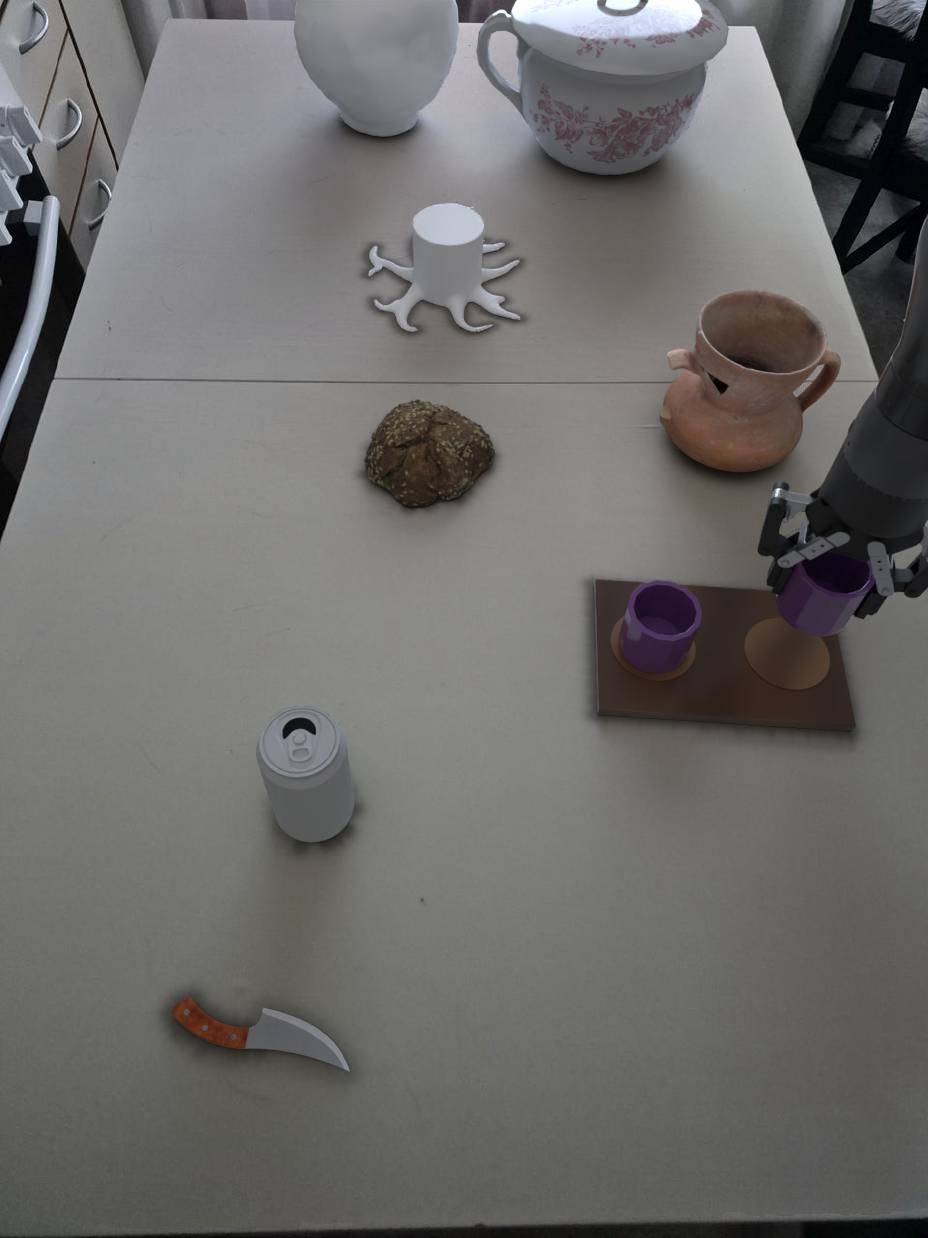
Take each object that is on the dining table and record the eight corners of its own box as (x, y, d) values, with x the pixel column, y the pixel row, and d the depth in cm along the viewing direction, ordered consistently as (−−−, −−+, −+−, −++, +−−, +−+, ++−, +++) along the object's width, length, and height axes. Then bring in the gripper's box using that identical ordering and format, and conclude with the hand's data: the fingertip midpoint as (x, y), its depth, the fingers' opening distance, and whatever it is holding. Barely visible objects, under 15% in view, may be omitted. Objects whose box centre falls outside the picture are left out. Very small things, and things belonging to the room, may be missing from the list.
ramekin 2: (866, 624, 79) (892, 585, 75) (800, 645, 78) (823, 607, 73) (824, 567, 83) (847, 527, 78) (760, 587, 81) (780, 547, 77)
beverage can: (350, 766, 79) (340, 693, 70) (359, 840, 76) (349, 774, 66) (272, 777, 79) (251, 705, 69) (277, 852, 75) (255, 787, 65)
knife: (360, 1029, 67) (348, 1074, 66) (360, 1031, 68) (349, 1076, 66) (179, 987, 68) (163, 1031, 67) (180, 989, 69) (164, 1033, 67)
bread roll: (406, 403, 104) (406, 367, 100) (507, 446, 101) (510, 411, 97) (339, 477, 98) (336, 442, 94) (445, 526, 94) (445, 492, 90)
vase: (277, 123, 135) (244, -137, 110) (381, 68, 145) (373, -182, 120) (374, 174, 129) (363, -89, 104) (477, 113, 138) (488, -141, 114)
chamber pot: (736, 150, 135) (782, -14, 118) (615, 229, 123) (646, 60, 106) (583, 75, 146) (604, -85, 129) (457, 142, 134) (463, -24, 117)
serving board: (826, 600, 91) (830, 593, 90) (852, 731, 83) (856, 725, 82) (593, 584, 91) (595, 577, 90) (597, 715, 83) (599, 708, 82)
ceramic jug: (658, 488, 98) (690, 381, 87) (635, 390, 106) (661, 280, 95) (829, 485, 99) (884, 379, 88) (794, 388, 108) (839, 279, 96)
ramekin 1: (700, 662, 85) (715, 627, 81) (636, 682, 84) (648, 649, 79) (667, 607, 88) (680, 572, 84) (605, 626, 87) (615, 591, 83)
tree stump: (536, 246, 121) (543, 186, 114) (514, 347, 110) (519, 286, 103) (380, 225, 122) (378, 164, 116) (343, 322, 111) (337, 261, 105)
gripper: (787, 464, 65) (723, 608, 78) (1009, 523, 62) (902, 660, 76) (803, 392, 69) (739, 540, 82) (1011, 445, 66) (910, 588, 80)
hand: (818, 597), depth 79 cm, fingers closed on ramekin 2, 6 cm apart
